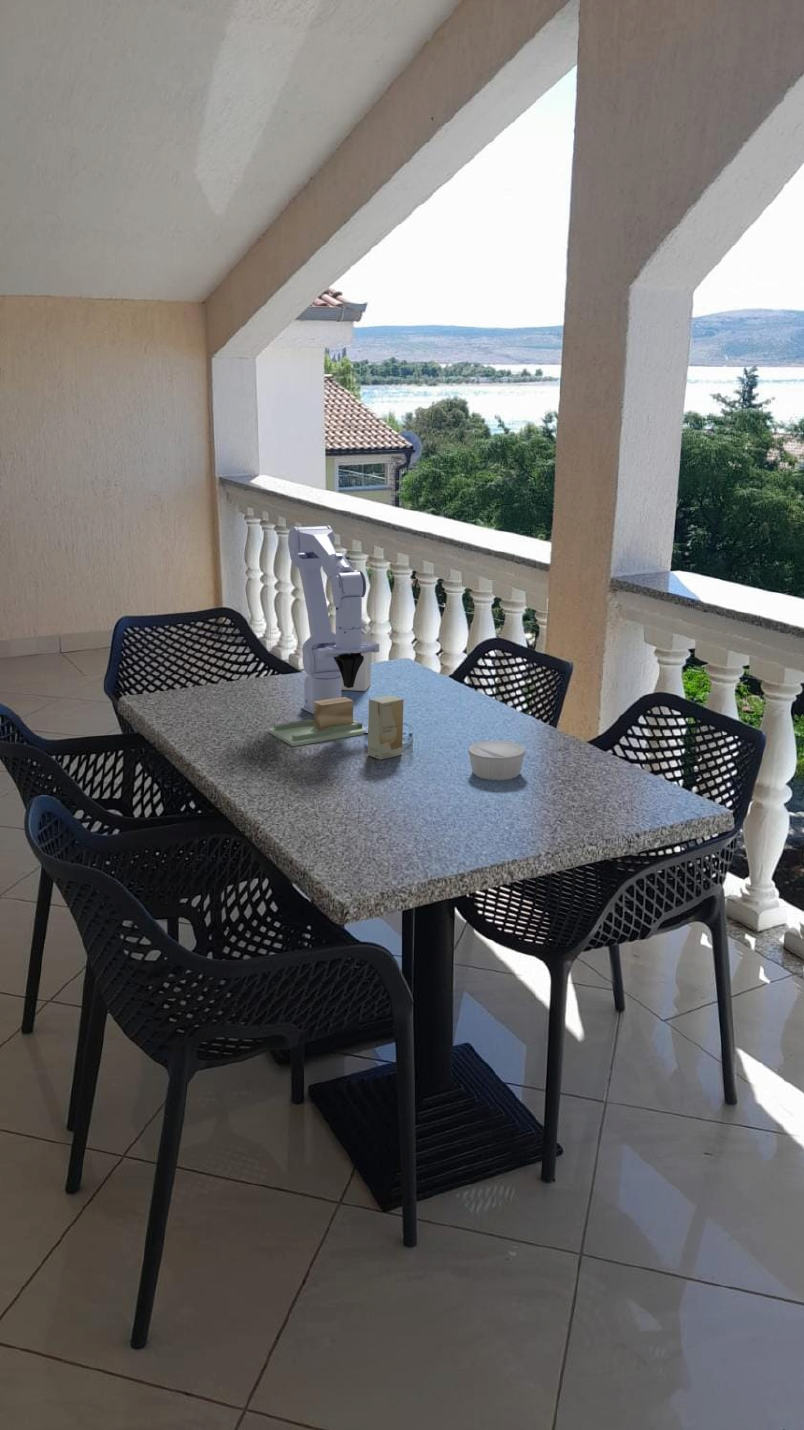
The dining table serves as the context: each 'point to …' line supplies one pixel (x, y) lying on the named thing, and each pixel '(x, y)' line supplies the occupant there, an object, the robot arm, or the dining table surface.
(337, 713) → the panel block
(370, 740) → the skincare box
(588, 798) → the dining table surface
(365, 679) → the milk carton
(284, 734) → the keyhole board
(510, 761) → the ramekin
